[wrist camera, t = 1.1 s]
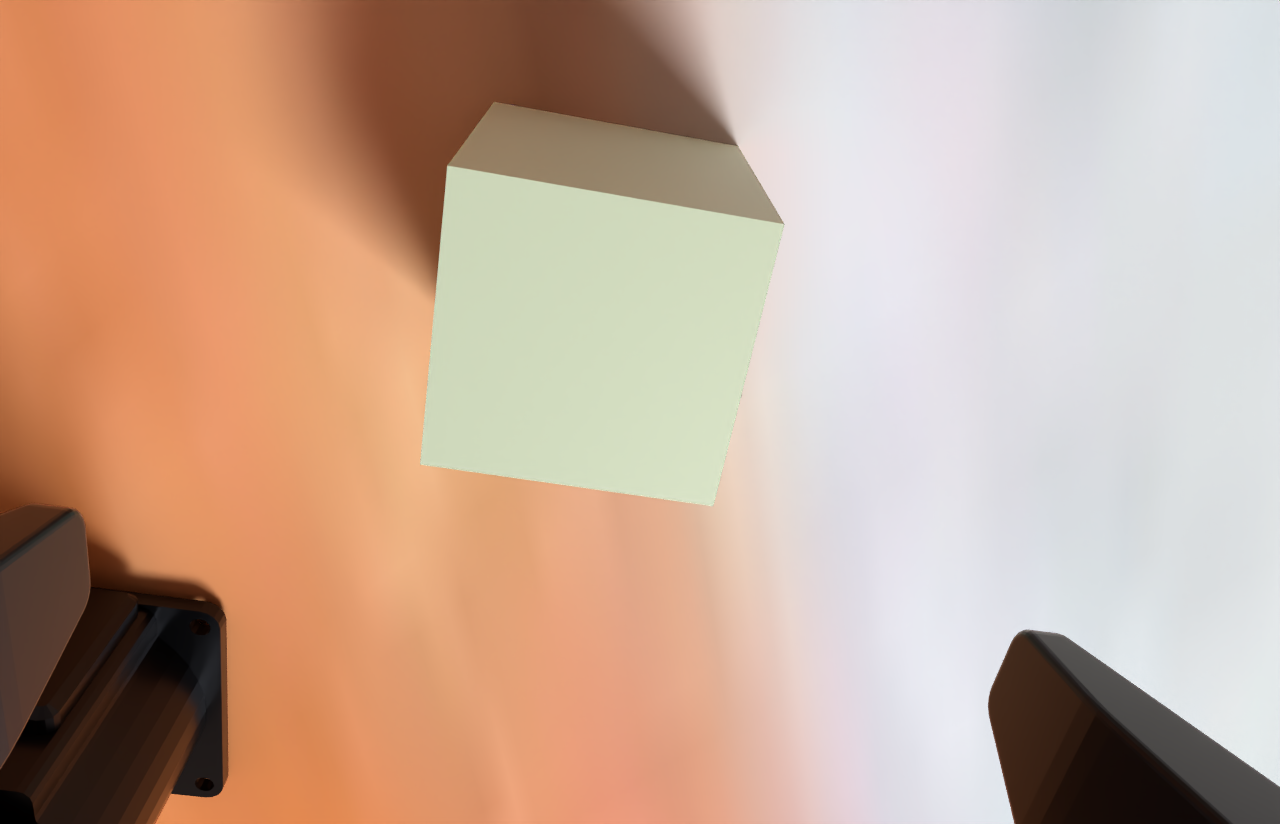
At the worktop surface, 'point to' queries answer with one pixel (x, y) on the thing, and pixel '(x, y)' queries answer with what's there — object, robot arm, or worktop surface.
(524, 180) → the cream block
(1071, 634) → the worktop surface
